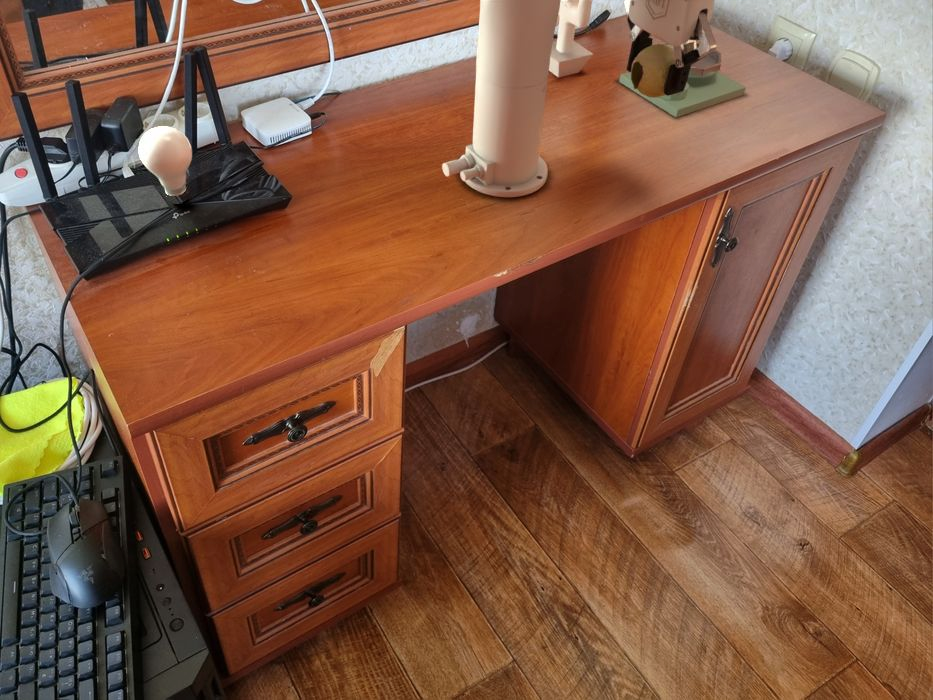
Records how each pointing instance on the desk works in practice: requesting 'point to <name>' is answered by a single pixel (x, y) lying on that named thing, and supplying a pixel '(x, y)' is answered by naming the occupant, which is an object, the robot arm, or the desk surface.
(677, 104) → the scale
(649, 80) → the tennis ball
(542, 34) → the robot arm
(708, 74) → the pan
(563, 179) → the desk surface
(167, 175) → the lightbulb
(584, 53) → the figurine
